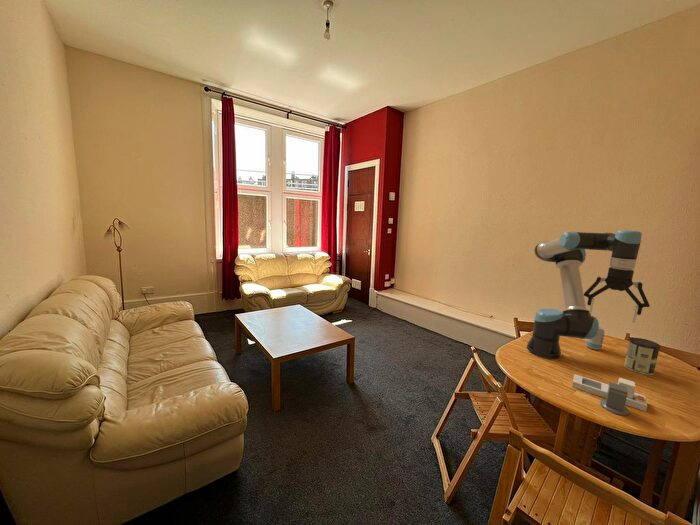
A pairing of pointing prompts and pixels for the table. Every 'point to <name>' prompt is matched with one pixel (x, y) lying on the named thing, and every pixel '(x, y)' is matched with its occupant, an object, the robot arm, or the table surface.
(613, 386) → the block
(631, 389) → the white plug
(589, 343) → the beverage can
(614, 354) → the table surface
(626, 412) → the grey disc
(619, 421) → the table surface
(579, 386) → the strip
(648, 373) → the coffee can
